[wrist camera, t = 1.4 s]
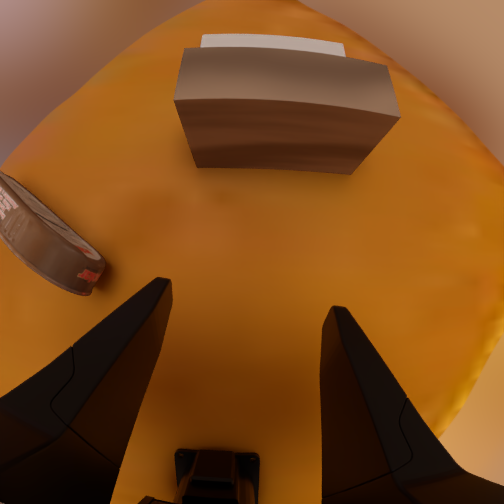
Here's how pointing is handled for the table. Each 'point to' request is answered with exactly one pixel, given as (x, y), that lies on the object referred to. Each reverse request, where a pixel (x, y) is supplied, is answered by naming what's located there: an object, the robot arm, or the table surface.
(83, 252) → the tin
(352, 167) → the walnut board
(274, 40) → the mat
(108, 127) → the table surface
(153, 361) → the robot arm
